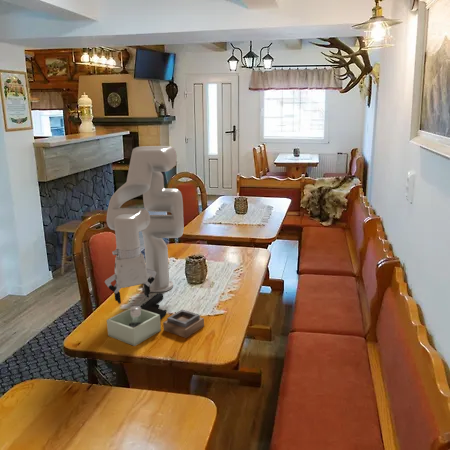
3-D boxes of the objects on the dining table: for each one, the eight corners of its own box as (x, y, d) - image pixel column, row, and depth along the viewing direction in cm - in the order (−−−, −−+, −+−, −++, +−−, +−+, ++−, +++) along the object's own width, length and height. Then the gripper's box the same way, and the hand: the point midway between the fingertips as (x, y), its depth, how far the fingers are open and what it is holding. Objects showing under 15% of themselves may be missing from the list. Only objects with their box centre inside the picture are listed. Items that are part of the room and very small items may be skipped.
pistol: (180, 294, 186) (155, 290, 189) (158, 314, 168) (130, 310, 171) (180, 302, 187) (155, 298, 190) (158, 323, 168) (131, 318, 172)
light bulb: (129, 333, 158) (129, 310, 156) (128, 327, 162) (128, 305, 160) (142, 332, 159) (142, 310, 157) (141, 326, 163) (141, 305, 162)
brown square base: (163, 330, 162) (163, 318, 161) (182, 319, 170) (181, 307, 169) (186, 337, 157) (185, 325, 155) (204, 326, 164) (203, 314, 163)
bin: (108, 335, 159) (106, 319, 157) (134, 321, 169) (133, 306, 167) (134, 346, 152) (133, 329, 150) (160, 330, 162) (159, 314, 160)
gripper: (104, 260, 146) (109, 309, 151) (157, 250, 153) (160, 298, 158) (99, 252, 153) (105, 300, 158) (150, 244, 160) (154, 289, 165)
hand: (133, 299), depth 158 cm, fingers open, 9 cm apart
